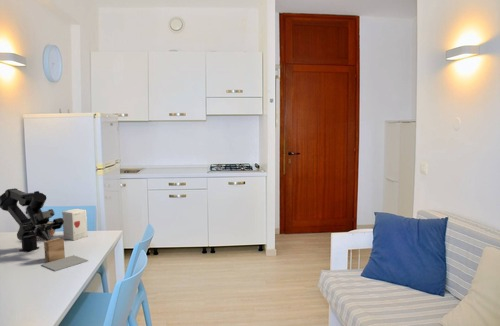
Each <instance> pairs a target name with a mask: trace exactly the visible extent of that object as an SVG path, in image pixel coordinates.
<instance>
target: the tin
mask: <svg viewBox="0 0 500 326" xmlns="http://www.w3.org/2000/svg"><path fill="white" fill-rule="evenodd" d="M51 222H53V220H51V221H50V220H49V222H48V223H51ZM55 233H56V230H53V229H51V231H50V237H52V236H53V235H54V234H55ZM36 240H37V241H44V239H42V238H41V237H39V236H37V237H36Z"/></svg>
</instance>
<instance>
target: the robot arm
mask: <svg viewBox="0 0 500 326" xmlns="http://www.w3.org/2000/svg"><path fill="white" fill-rule="evenodd" d="M46 201H47V195H46V194H44V193H43V192H40V190H36V191H33V192H25V191H22V190H19V189H18V188H8V189H6V190H4V193H2V194H1V195H0V209H1V210H2V211H5V212H8V213H9V214H10V215H11V217H12V218H13V219H14V221H15V222H16V223H17V224H18V227H19V229H18V230H17V233H16V237H17V239H18V240H20V241H21V242H20V243H21V248H20V249H19V251H20V252H24V253H25V252H26V253H29V252H32V251H36V250H38V249H40V247H39V246H38V243H37V241H38V240H36V237H37V236H39V237H41V238H42V239H43V241H44V242H45V241H49V240H52V239H51V236H50V231H51V229H53V230H55V231H56V230H60V229H62V228H63V223H64V220H63V217H57V218H53V220H52V222H51V223H48V222H49V221H50V219H51V218H52V217H53V216H55V211H54V210H53V209H52V208H51V209H48V210H46V211H43V210H42V208H43V207H44V206H45V202H46ZM19 205H20V206H21V207H26V208H25V212H24V211H23V210H22V209H21V208H20V206H19ZM27 215H28V216H27Z"/></svg>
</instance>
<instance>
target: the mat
mask: <svg viewBox="0 0 500 326" xmlns="http://www.w3.org/2000/svg"><path fill="white" fill-rule="evenodd" d="M86 262H89V260H88V259H86V258H84V257H83V258H82V257H80V256H77V255H75V254H73V255H70V256H65V258H62V259H59V260H55V261H52V262H45V263H42V264H40V265H41V267H45V268H47V269H49V270H51V271H53V270H54V271H53V272H58V271H61V270H64V269H66V268H67V269H68V268H70V267H74V266H77V265H81V264H84V263H86Z"/></svg>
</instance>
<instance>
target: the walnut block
mask: <svg viewBox="0 0 500 326" xmlns="http://www.w3.org/2000/svg"><path fill="white" fill-rule="evenodd" d="M64 239H65V238H61V237H58V238H54V239H51V240H49V241H45V240H44V241H43V246H44V247H43V248H44V261H45V262H47V261H48V262H47V263H49V262H52V261H55V260H59V259H62V258H66V255H65V241H64Z"/></svg>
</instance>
